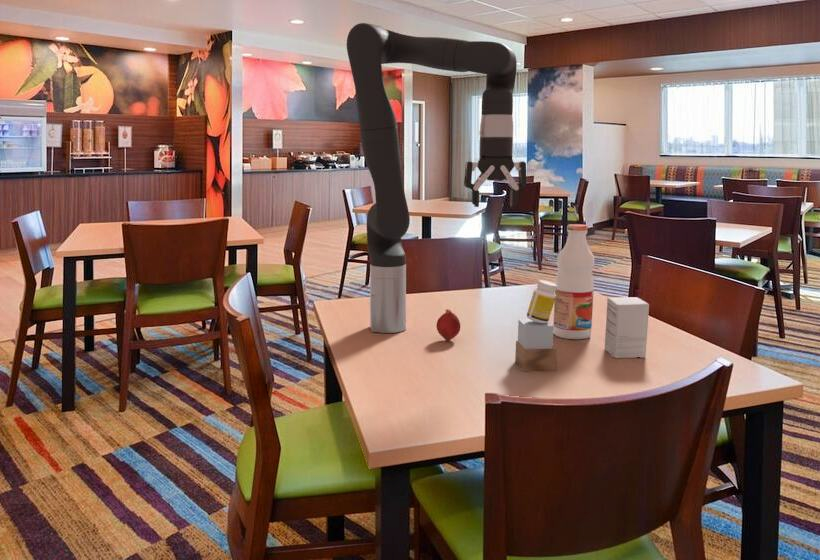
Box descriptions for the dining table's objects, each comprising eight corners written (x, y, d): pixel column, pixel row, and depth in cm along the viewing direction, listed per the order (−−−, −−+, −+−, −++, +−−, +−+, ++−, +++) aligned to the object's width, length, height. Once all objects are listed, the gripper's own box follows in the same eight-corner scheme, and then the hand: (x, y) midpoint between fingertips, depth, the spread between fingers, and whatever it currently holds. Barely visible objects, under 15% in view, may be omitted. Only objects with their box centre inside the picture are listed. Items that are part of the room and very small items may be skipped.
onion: (445, 335, 168) (446, 305, 167) (464, 340, 165) (465, 308, 163) (431, 341, 164) (432, 309, 162) (450, 345, 160) (451, 313, 159)
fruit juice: (558, 328, 176) (563, 222, 170) (595, 333, 171) (601, 224, 166) (548, 337, 168) (553, 225, 162) (585, 342, 163) (592, 228, 158)
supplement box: (634, 348, 158) (638, 296, 156) (646, 358, 151) (650, 303, 149) (603, 348, 158) (606, 296, 156) (613, 358, 151) (617, 304, 148)
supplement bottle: (552, 324, 143) (563, 287, 141) (536, 323, 140) (547, 285, 138) (537, 316, 147) (548, 280, 145) (521, 315, 144) (532, 278, 142)
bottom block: (523, 372, 142) (524, 350, 141) (515, 362, 149) (515, 340, 148) (555, 371, 143) (556, 349, 142) (545, 361, 149) (546, 339, 148)
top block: (524, 349, 141) (525, 326, 140) (517, 341, 147) (518, 319, 146) (552, 348, 142) (553, 325, 141) (544, 340, 148) (545, 318, 147)
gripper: (468, 135, 149) (467, 208, 152) (531, 135, 150) (528, 207, 153) (462, 135, 156) (461, 205, 159) (522, 136, 157) (520, 205, 160)
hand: (494, 206), depth 156 cm, fingers open, 8 cm apart
